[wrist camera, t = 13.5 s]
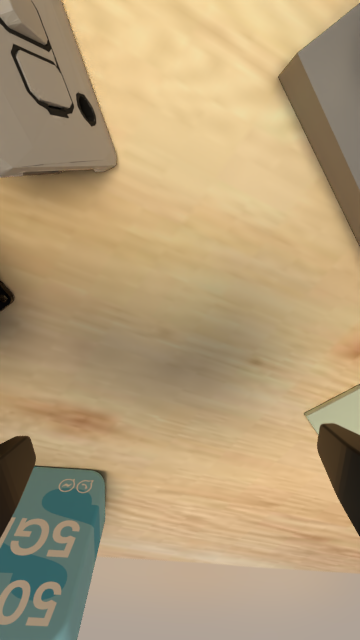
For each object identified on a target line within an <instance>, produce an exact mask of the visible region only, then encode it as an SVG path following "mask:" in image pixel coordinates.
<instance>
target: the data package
mask: <svg viewBox="0 0 360 640" xmlns="http://www.w3.org/2000/svg"><path fill="white" fill-rule="evenodd" d="M104 522H105V482H104V479H103V477H102V476H101V475H100V474H99V473H98V472H96V471H93V470H82V469H66V468H50V467H34V468H33V470H32V473H31V475H30V478H29V480H28V482H27V485H26V487H25V490H24V492H23V494H22V497H21V499H20V502H19V504H18V506H17V508H16V510H15V512H14V514H13V516H12V518H11V520H10V522H9V523H8V525H7V527H6V529H5V531H4V533H3V534H2V536H1V538H0V640H77V637H78V633H79V629H80V625H81V620H82V616H83V612H84V608H85V603H86V599H87V595H88V590H89V586H90V582H91V577H92V573H93V568H94V565H95V560H96V556H97V552H98V548H99V543H100V539H101V535H102V530H103V526H104Z"/></svg>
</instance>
